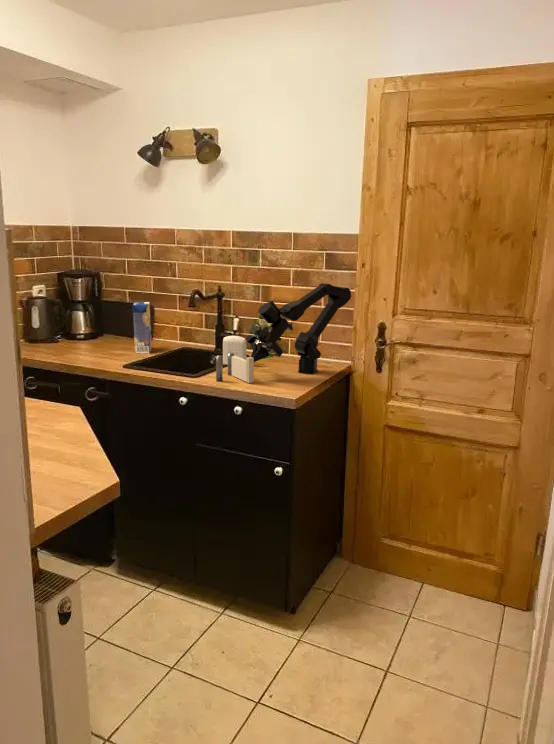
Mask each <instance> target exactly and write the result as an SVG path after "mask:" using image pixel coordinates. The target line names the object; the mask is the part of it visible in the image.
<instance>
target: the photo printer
mask: <svg viewBox="0 0 554 744" xmlns="http://www.w3.org/2000/svg"><path fill="white" fill-rule="evenodd" d="M245 339H246V337H243V336H238V335H228V336H227V335H226V336H225V337H223V339H222V357H223V365H227V366H228V353H234V356H237V357H240V358H242V359H245V360H246V358H247V343H248V342H247V341H246V340H245Z"/></svg>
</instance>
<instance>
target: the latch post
mask: <svg viewBox="0 0 554 744" xmlns="http://www.w3.org/2000/svg"><path fill="white" fill-rule="evenodd" d="M223 365H224V364H223V355H215V368H216V369H215V380H216V382H223V381H224V379H223V377H224V375H223V374H224V373H223Z"/></svg>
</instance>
